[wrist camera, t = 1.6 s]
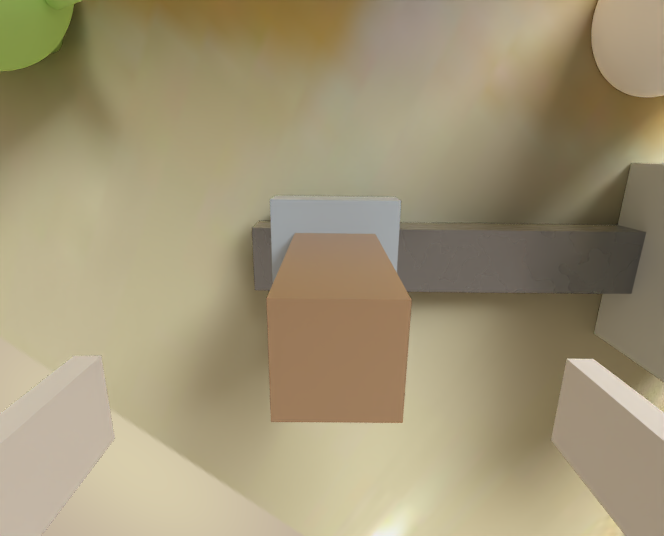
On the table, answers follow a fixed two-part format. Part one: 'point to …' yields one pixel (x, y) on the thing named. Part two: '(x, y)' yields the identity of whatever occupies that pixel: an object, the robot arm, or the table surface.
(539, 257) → the rail
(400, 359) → the carriage
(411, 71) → the table surface
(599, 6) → the cup
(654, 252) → the cabinet
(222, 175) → the table surface
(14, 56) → the teapot
